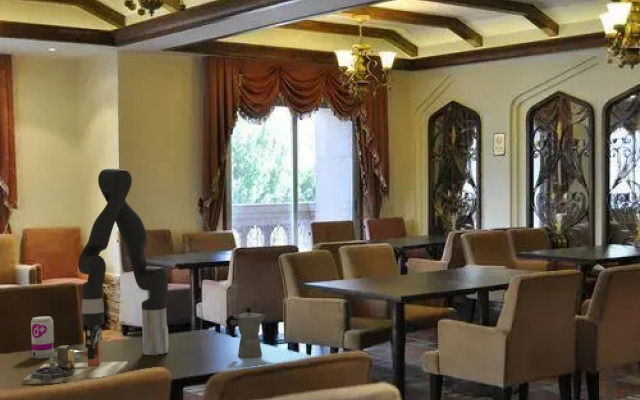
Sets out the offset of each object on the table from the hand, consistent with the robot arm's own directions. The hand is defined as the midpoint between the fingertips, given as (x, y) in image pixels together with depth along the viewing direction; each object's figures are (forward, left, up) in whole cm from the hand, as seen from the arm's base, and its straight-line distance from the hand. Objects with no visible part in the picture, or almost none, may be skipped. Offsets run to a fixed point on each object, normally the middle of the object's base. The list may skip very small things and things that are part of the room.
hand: (94, 356), depth 315 cm
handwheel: (+11, +13, -3) cm, 17 cm away
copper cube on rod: (+7, 0, -3) cm, 8 cm away
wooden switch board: (+4, +8, -5) cm, 10 cm away
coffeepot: (-53, -15, -5) cm, 55 cm away
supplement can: (+26, -25, -5) cm, 37 cm away
